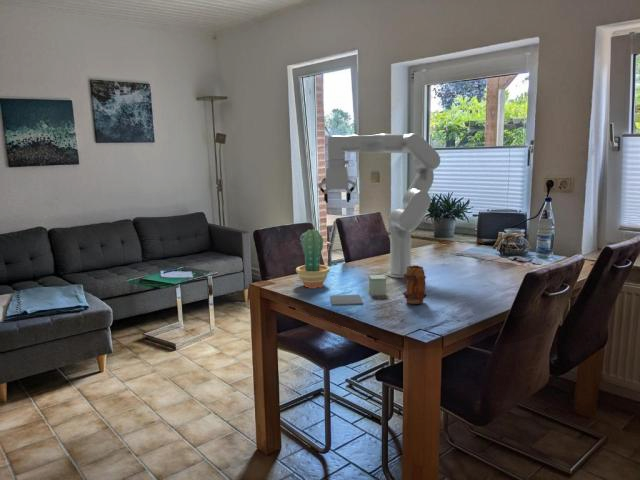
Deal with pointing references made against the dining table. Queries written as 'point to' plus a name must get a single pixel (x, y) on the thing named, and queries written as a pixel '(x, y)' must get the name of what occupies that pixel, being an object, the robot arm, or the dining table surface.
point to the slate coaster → (346, 300)
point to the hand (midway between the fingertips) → (337, 202)
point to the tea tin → (377, 285)
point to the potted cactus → (312, 260)
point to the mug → (415, 285)
